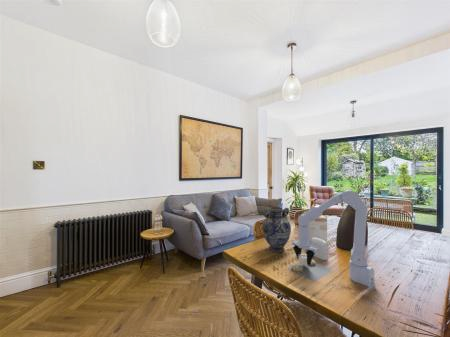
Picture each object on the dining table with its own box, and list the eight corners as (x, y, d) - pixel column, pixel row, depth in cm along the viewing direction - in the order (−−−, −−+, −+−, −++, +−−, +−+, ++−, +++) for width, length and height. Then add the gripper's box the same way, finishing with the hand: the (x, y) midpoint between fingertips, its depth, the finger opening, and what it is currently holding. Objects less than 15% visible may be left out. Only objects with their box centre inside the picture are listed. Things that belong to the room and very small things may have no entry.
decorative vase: (272, 257, 125) (271, 211, 126) (255, 247, 142) (255, 206, 143) (298, 251, 134) (298, 208, 135) (280, 242, 151) (280, 204, 152)
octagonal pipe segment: (311, 263, 110) (311, 256, 110) (305, 266, 106) (305, 258, 107) (302, 260, 114) (302, 252, 114) (296, 262, 111) (296, 255, 111)
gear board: (334, 273, 106) (334, 261, 106) (314, 284, 96) (314, 271, 96) (306, 262, 119) (306, 251, 119) (286, 270, 109) (286, 259, 109)
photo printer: (329, 261, 119) (329, 240, 120) (323, 263, 118) (323, 241, 118) (314, 255, 129) (314, 235, 129) (309, 256, 127) (309, 236, 127)
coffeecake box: (324, 241, 153) (324, 215, 153) (327, 245, 146) (327, 217, 146) (303, 240, 156) (303, 214, 156) (305, 243, 149) (305, 216, 149)
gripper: (288, 234, 114) (288, 259, 114) (312, 242, 102) (312, 269, 102) (295, 232, 118) (295, 256, 118) (319, 239, 106) (319, 265, 106)
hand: (304, 262), depth 110 cm, fingers closed on octagonal pipe segment, 5 cm apart
